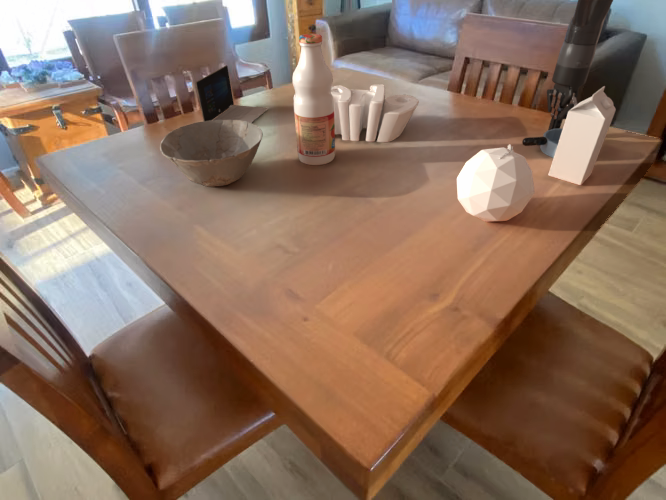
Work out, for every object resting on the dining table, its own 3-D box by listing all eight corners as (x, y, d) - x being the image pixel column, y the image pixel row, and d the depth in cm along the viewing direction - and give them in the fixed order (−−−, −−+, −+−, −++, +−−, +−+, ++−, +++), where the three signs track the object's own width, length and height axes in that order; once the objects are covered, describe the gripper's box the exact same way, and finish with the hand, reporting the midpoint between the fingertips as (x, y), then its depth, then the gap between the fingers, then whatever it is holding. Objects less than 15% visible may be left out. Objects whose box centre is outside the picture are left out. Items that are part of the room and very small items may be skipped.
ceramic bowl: (257, 150, 112) (252, 113, 105) (276, 192, 94) (271, 150, 88) (169, 164, 106) (159, 126, 100) (172, 211, 89) (159, 167, 83)
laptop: (243, 131, 122) (235, 85, 114) (204, 127, 125) (194, 82, 117) (268, 110, 135) (263, 67, 127) (233, 107, 139) (226, 64, 131)
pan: (529, 164, 102) (534, 148, 99) (510, 143, 111) (514, 128, 109) (602, 160, 102) (608, 144, 100) (577, 140, 112) (582, 125, 109)
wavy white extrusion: (285, 136, 118) (281, 98, 112) (302, 115, 131) (300, 80, 125) (412, 146, 111) (416, 105, 105) (417, 122, 124) (421, 85, 118)
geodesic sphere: (467, 159, 91) (468, 121, 78) (538, 171, 86) (552, 133, 73) (448, 222, 89) (445, 194, 76) (520, 239, 84) (531, 212, 70)
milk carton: (547, 176, 97) (574, 91, 85) (559, 165, 101) (586, 82, 89) (580, 186, 93) (613, 98, 81) (591, 174, 97) (624, 89, 85)
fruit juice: (291, 155, 109) (280, 35, 92) (322, 146, 113) (318, 29, 95) (309, 169, 102) (301, 42, 85) (342, 159, 106) (341, 36, 89)
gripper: (605, 69, 97) (580, 141, 108) (574, 55, 108) (554, 121, 118) (573, 70, 97) (551, 142, 107) (545, 56, 107) (528, 123, 118)
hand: (553, 131), depth 113 cm, fingers closed
